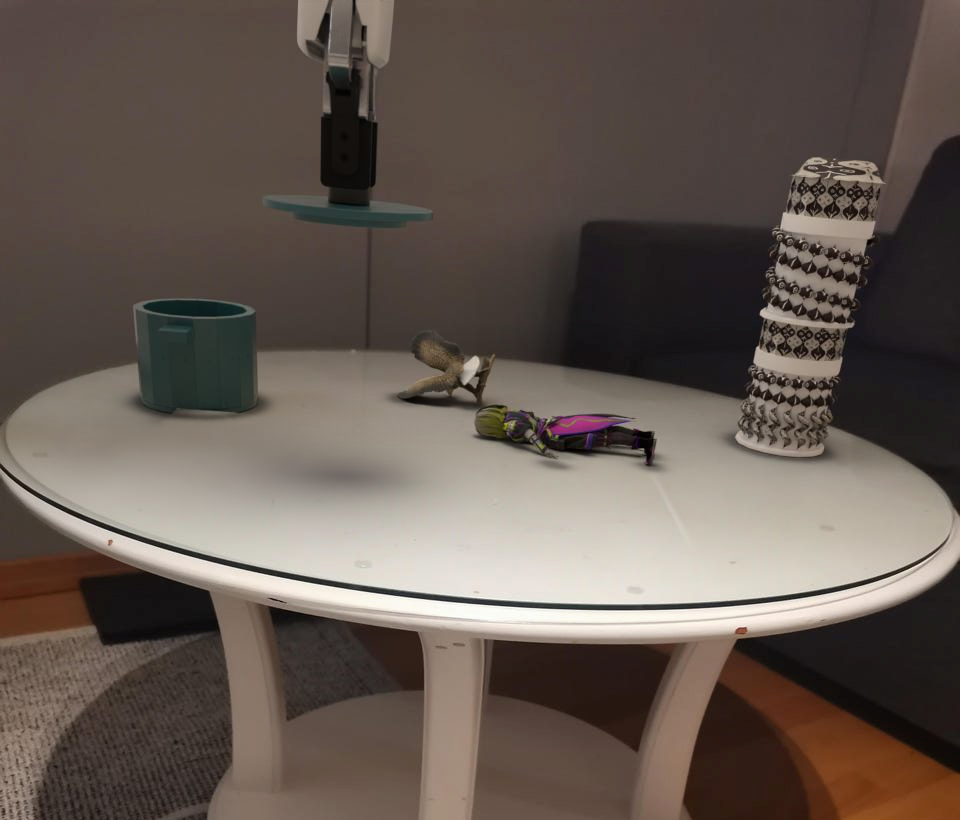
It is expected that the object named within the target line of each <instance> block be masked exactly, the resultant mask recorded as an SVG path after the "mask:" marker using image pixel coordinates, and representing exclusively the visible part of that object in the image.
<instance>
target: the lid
mask: <svg viewBox="0 0 960 820" xmlns="http://www.w3.org/2000/svg"><path fill="white" fill-rule="evenodd" d="M362 121H364V120H362ZM367 121H372V122H373V112H371V111H368V120H367ZM371 153H372V152H371ZM262 206H264V207H266V208H269V209H273V210H278V211H283V212H288V213H289V216H290V218H292V219H294V220H296V221H297V220H298V221H303V222H308V223H315V224H322V225H330V226H340V227H353V228H365V229H366V228H367V229H368V228H369V229H403V228H405V227H407V222H409V223H411V222H413V223H414V222H415V223H419V222H430V221H433V219H434V210H432V209H429V208H425V207H422V206H415V205H409V204H402V203H395V202H388V201H387V202H386V201H379V200H378V201H377V200H371V188H370V187H369V188H368V189H366V190H357V189H346V188H335V187H327V196H324V195H323V196H322V195H321V196H320V195H300V194H270V195H269V194H268V195H263V196H262Z"/></svg>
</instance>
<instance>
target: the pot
mask: <svg viewBox="0 0 960 820" xmlns="http://www.w3.org/2000/svg"><path fill="white" fill-rule="evenodd" d="M132 309H133V310H132V311H133V319H134V320H133V322H134V334H135V347H136V348H135V349H136V359H137V371H138V383H139V395H140V397H141V403H142V404H143V405H144V406H146V407H148V408H150V409H153V410H155V411H159V412H162V413H163V412H164V413H168V414H173V413H174V412H175V411H177V409H181V410H183V409H184V410H194V411H195V410H196V411H209V412H210V411H211V412H221V413H222V412H223V413H235V414H236V413H241V412H242V413H243V412H245V411H248V410H251V409H253V408H254V407H256V406H257V404H258V398H259V381H258V380H259V376H258V375H259V374H258V373H259V372H258V336H257V311H256V309H254V308H253V307H252V306H250V305H245V304H242V303H238V302H232V301H225V300H219V299H218V300H217V299H206V298H177V297H176V298H175V297H174V298H157V299H150V300H143V301H139V302H136V303H135V304H133V305H132Z"/></svg>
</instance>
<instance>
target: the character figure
mask: <svg viewBox="0 0 960 820" xmlns="http://www.w3.org/2000/svg"><path fill="white" fill-rule="evenodd" d="M627 419H629V420H627ZM630 419H631V420H632V422H636V423H637V420H636V417H630V416H629V417H628V416H623V415H618V414H613V413H583V414H580V413H579V414H571V415H564V416H563V415H557V416H555V415H552V416H551V418H545V417H544V418H541V417H539V416H536V415H535V414H534V411H525V410H523V409H519V410H517V409H516V410H515V409H508V406H507V405H506V404H505V405H504V404H490V405H486V406H484V407H481V408H480V409H478V410H477V411H476V413H475V418H474V428H475V431H476V432H477V434H478V435H480V436H483V437H485V436H488V437H494V438H496V439H498V440H499V439H505V438H506V437H507V436H509V437H510V438H511V439H512V441H513V442H515V443H519V444H520V443H523V442H524V443H531V444H532V445H534V446H535V447H536V449H538V450H539V451H540V452H541V453H542V455H544V456H546V457H547V458H549V459H554V460H558V458H560V456H559V455H556V454H554V453H553V452H552V450H550V449H555V450H560V451H565V450H566V449H575V450H576V449H577V450H582V451H590V450H593V449H596V448H600V447H606V448H608V449H609V450H612V448H611V447H612V446H626V447H630V450H631V451H638V452H643V453H644V454H645V457H646V458H645V462H646V464H648V465H650V466H651V465H652V464H653V462H654V459H655V450H656V447H657V441H658V439H657V438H656V437H655V434H656V431H655V430H647V431H645V430H640V429H638V428H635V427H634V428H633V429H631V428H628V427H625V426H622V425H621V424H625V423H630V422H631V420H630Z"/></svg>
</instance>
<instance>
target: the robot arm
mask: <svg viewBox="0 0 960 820" xmlns="http://www.w3.org/2000/svg"><path fill="white" fill-rule="evenodd" d="M394 6H395V0H297V22H296V23H297V26H296V41H297V46H298V48H299V49H300V51H301V52H302V53H303V54H304V55H305V56H306V57H308V58H310V59H312V60H314V61H316V62H318V63H321V64H323V75H322V76H323V78H322V79H323V80H322V115H323V116H320V162H319V163H320V170H319V171H320V173H319V175H320V176H319V177H320V178H319V179H320V180H319V181H320V184H321V185H322V186H323V187H326V188H328V187H335V188H346V189H357V190H366V189H368V188H369V187H370V189H371V188H374V187H375V186H376V183H377V164H378V163H377V162H378V161H377V160H378V135H379V134H378V133H379V132H378V131H379V123H378V121H377V122H376V120H377V119H376V117H377V92H378V91H377V88H378V87H377V86H378V85H377V84H378V83H377V82H378V73H379V71H378V69H381V68H383V67H385V66H386V65H387V64H389V61H390V54H391V53H390V52H391V43H392V34H393V33H392V32H393V31H392V30H393V23H394V8H395V7H394ZM368 111H371V112H373V122H372V121H367V120H368ZM362 120H364V121H362ZM371 152H372V153H371Z"/></svg>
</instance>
